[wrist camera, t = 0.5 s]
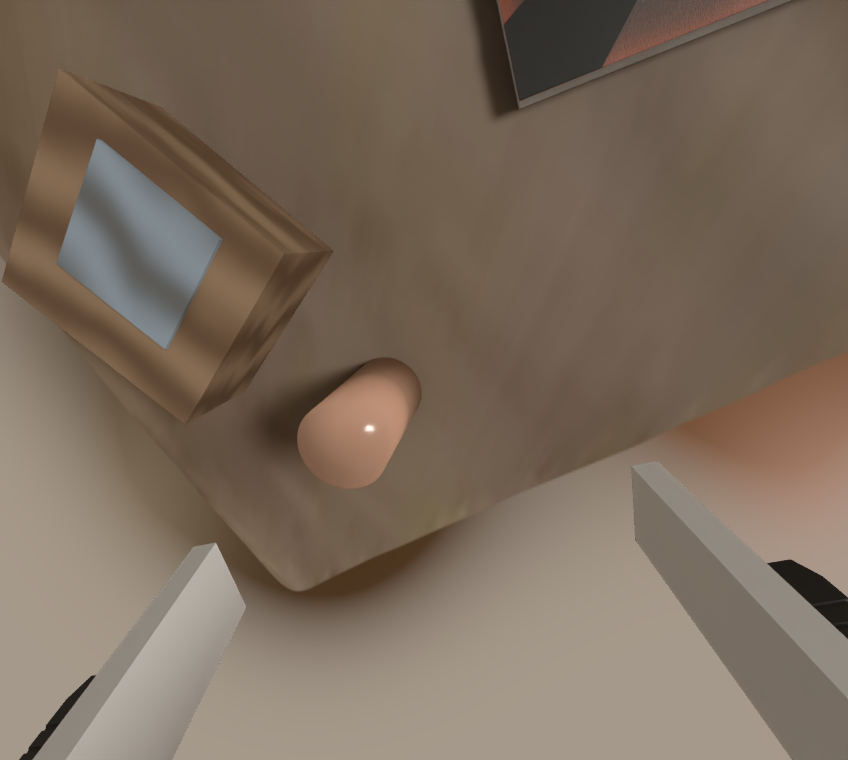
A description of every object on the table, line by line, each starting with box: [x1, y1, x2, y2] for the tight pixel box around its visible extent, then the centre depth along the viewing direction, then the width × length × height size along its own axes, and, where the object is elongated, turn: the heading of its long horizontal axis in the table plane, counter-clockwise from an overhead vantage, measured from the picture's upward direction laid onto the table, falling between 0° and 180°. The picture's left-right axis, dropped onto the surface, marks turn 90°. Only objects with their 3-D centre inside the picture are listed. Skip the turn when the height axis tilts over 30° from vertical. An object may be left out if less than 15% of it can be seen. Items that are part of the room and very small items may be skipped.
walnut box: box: [2, 68, 333, 424], centre depth 33 cm, size 17×18×8 cm
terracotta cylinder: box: [297, 358, 421, 489], centre depth 32 cm, size 6×6×11 cm
